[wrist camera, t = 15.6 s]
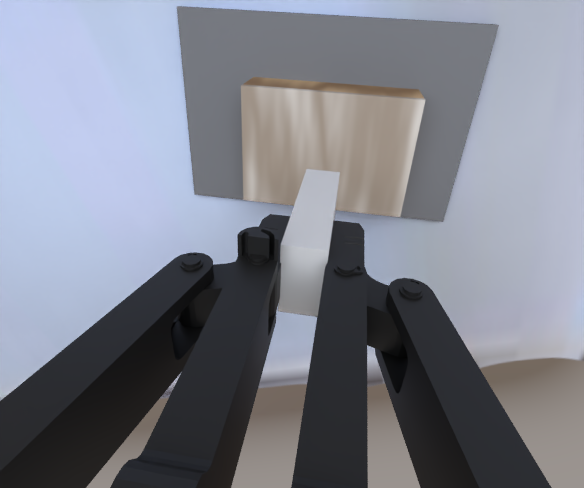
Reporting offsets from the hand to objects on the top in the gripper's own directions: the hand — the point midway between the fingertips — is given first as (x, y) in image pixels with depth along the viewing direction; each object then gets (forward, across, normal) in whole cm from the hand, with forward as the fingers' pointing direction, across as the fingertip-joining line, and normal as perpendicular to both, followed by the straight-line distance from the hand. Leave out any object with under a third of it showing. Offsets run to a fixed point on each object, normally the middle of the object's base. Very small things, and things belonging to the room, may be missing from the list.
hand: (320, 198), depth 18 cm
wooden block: (+7, -5, 0) cm, 9 cm away
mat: (+10, -1, +1) cm, 10 cm away
